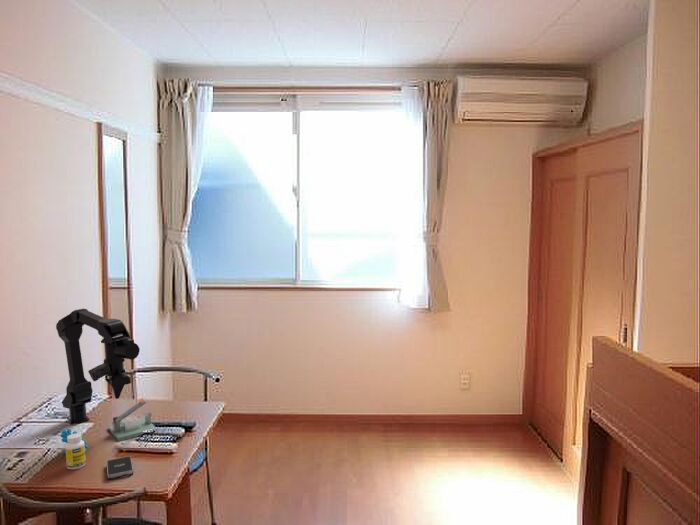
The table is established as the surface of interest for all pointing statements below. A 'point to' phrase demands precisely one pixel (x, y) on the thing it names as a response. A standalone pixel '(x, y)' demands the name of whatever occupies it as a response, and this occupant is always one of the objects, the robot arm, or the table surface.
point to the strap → (131, 409)
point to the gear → (64, 435)
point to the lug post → (148, 418)
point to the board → (132, 433)
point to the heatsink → (130, 423)
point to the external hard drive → (119, 468)
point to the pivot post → (116, 424)
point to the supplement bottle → (75, 451)
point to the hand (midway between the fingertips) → (117, 398)
